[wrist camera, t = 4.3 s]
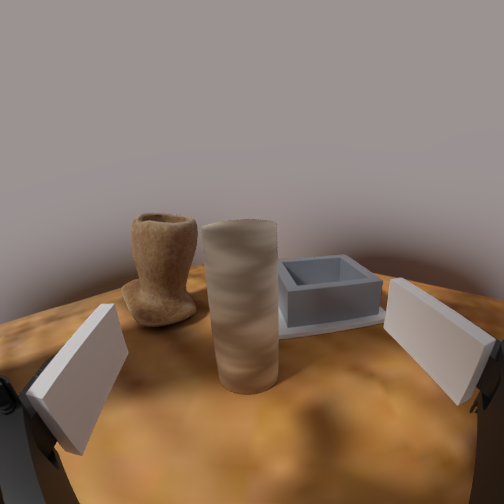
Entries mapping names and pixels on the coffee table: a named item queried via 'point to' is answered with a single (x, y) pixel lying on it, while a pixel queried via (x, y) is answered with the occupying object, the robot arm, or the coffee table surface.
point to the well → (326, 296)
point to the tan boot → (161, 269)
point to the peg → (243, 302)
